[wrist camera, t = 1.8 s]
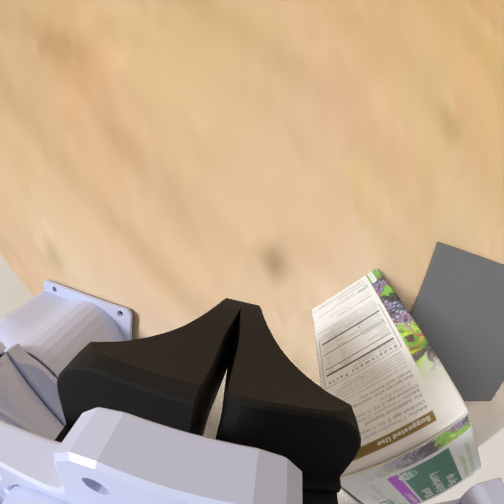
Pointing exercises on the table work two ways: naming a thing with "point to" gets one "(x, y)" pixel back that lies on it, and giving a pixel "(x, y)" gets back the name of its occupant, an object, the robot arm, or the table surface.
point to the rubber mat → (464, 319)
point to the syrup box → (392, 397)
